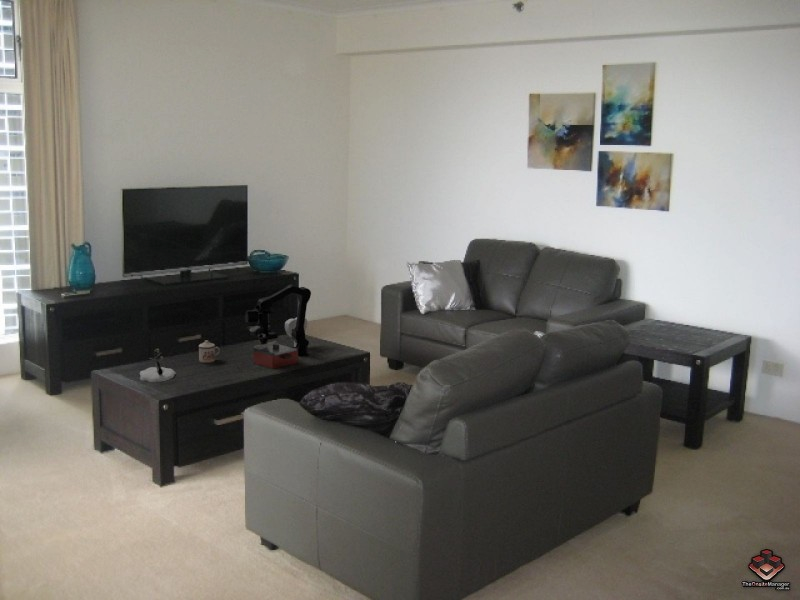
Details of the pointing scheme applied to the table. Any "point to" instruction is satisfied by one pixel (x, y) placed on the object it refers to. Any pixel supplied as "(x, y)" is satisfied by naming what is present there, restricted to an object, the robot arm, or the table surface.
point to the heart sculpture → (293, 326)
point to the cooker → (275, 358)
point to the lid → (275, 348)
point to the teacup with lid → (207, 352)
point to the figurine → (157, 372)
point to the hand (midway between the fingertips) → (263, 347)
